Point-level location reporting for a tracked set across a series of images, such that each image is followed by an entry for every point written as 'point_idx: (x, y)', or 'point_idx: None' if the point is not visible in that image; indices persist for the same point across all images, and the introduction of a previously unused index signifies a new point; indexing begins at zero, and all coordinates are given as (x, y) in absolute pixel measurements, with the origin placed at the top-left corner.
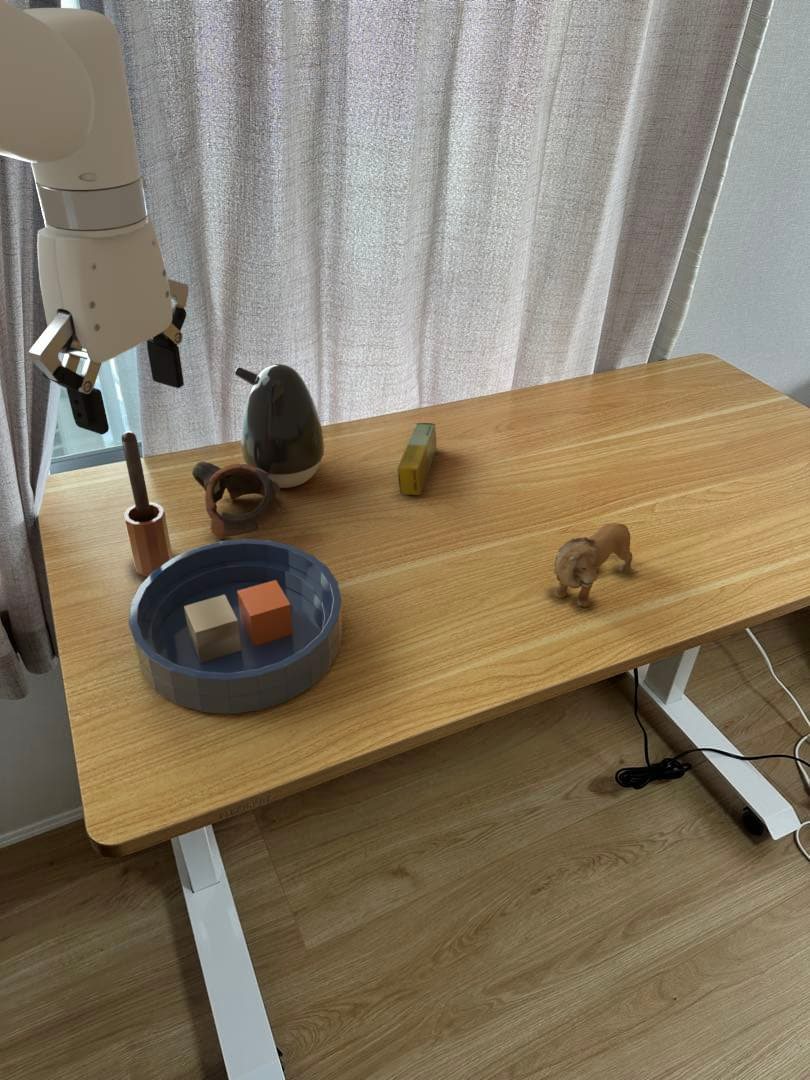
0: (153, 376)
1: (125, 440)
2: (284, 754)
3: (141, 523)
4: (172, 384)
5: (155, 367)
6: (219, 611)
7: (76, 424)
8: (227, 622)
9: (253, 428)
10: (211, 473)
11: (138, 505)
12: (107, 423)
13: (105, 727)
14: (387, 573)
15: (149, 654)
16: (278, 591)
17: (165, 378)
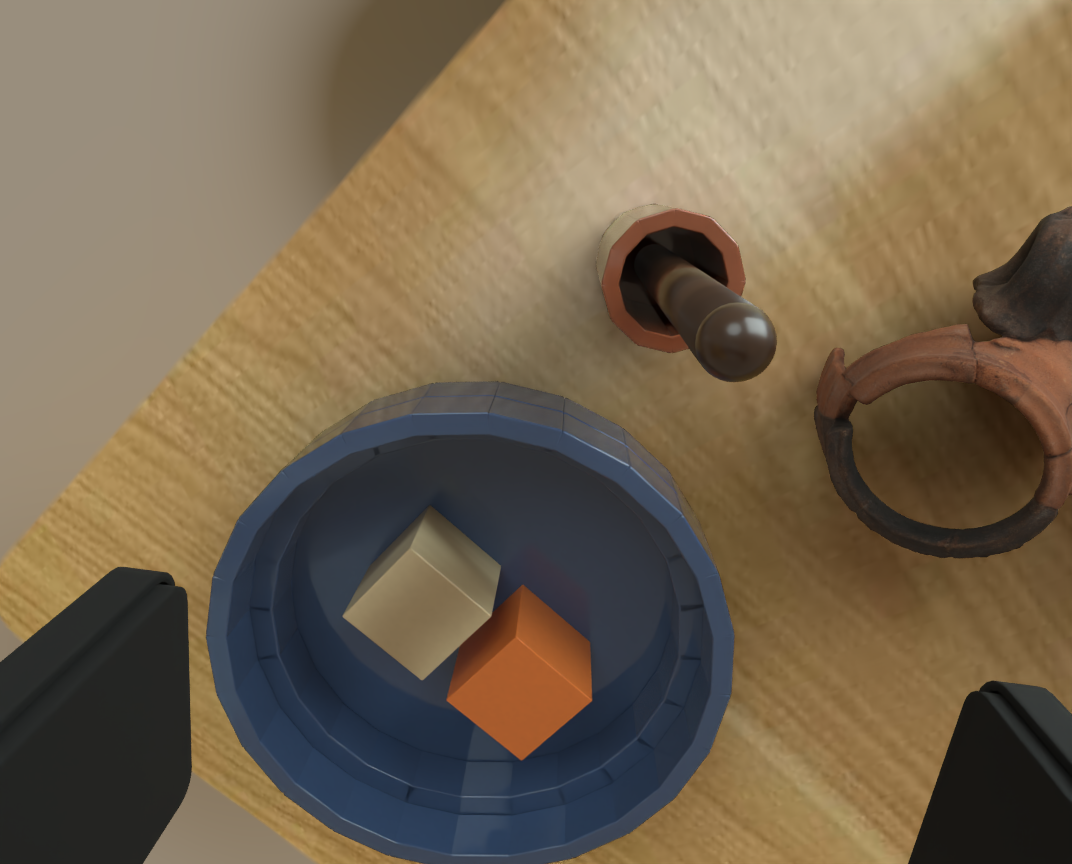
0: (993, 717)
1: (698, 349)
2: (264, 776)
3: (615, 311)
4: (924, 856)
5: (1032, 827)
6: (431, 631)
7: (123, 568)
8: (404, 665)
9: None
10: (1036, 319)
11: (653, 292)
12: (161, 826)
13: (151, 468)
14: (808, 789)
15: (220, 572)
16: (553, 721)
17: (960, 836)
